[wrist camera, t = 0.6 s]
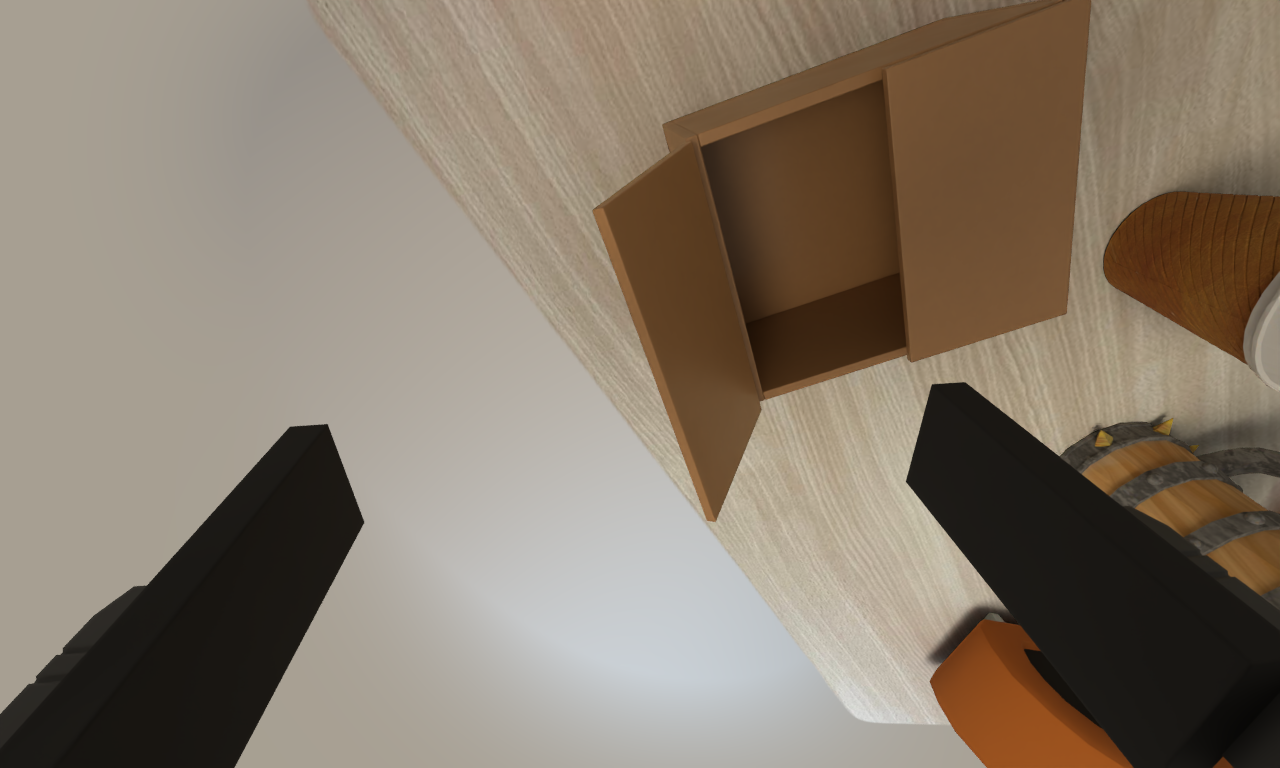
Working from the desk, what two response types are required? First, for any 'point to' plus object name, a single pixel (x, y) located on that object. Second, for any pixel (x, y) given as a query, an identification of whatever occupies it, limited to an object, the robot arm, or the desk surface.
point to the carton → (899, 193)
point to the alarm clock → (1019, 705)
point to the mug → (1190, 495)
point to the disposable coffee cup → (1207, 270)
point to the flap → (684, 316)
